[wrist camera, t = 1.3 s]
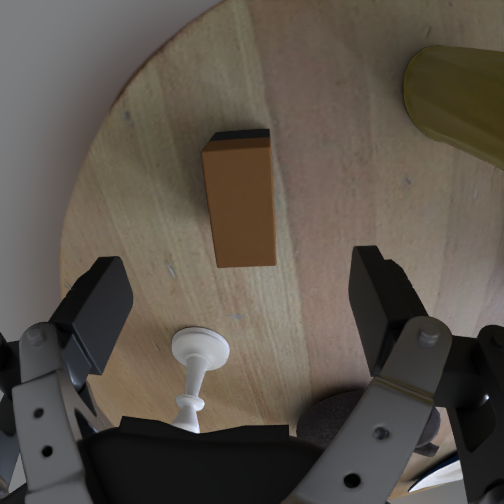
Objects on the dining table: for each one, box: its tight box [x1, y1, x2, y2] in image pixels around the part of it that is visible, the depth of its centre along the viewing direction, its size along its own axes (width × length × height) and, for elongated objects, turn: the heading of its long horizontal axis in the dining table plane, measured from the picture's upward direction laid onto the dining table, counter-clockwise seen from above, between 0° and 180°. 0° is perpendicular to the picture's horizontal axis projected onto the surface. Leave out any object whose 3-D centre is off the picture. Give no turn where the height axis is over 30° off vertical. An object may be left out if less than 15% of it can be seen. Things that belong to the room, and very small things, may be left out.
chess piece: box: [171, 327, 230, 433], centre depth 22 cm, size 5×5×10 cm
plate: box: [408, 455, 463, 492], centre depth 47 cm, size 20×20×3 cm
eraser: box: [201, 129, 277, 268], centre depth 17 cm, size 6×3×4 cm, turn 4°
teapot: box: [296, 390, 441, 457], centre depth 25 cm, size 19×15×10 cm
